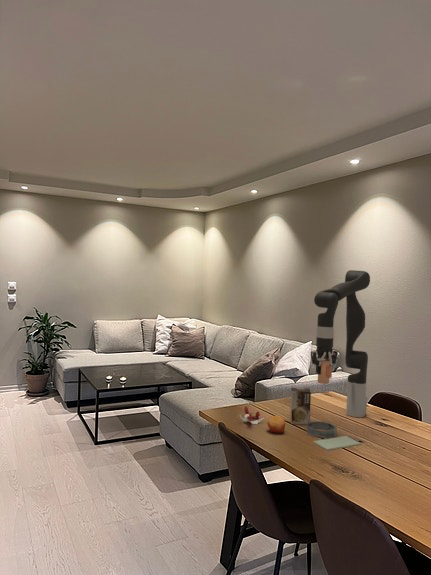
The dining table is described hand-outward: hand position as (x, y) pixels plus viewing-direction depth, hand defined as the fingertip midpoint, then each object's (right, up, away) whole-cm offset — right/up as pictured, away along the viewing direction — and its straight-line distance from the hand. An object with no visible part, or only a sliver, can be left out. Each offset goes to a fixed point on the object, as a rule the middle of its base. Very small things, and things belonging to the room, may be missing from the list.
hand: (323, 373), depth 196 cm
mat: (+3, -27, -12) cm, 30 cm away
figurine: (-32, -26, +11) cm, 42 cm away
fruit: (-22, -27, 0) cm, 34 cm away
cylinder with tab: (0, -4, -1) cm, 4 cm away
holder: (-1, -27, +1) cm, 27 cm away
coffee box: (-8, -27, +14) cm, 31 cm away
